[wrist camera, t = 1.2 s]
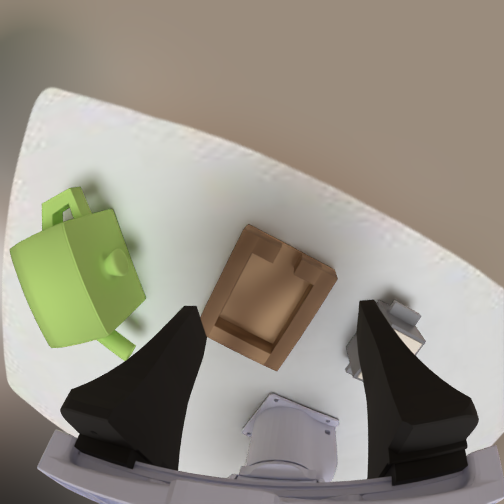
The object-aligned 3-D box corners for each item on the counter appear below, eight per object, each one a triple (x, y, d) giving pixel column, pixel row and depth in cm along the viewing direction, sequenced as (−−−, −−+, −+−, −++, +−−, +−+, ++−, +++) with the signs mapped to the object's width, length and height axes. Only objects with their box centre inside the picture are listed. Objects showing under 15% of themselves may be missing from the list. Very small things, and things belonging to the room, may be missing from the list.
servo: (414, 305, 28) (434, 331, 23) (369, 368, 31) (379, 401, 25) (385, 289, 29) (401, 313, 23) (339, 355, 31) (345, 387, 25)
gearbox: (176, 332, 34) (144, 381, 24) (109, 344, 35) (70, 387, 26) (118, 175, 30) (62, 180, 21) (55, 207, 32) (-2, 221, 22)
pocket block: (334, 269, 29) (337, 278, 26) (278, 357, 32) (276, 371, 29) (248, 224, 29) (243, 228, 26) (201, 318, 32) (194, 329, 29)
